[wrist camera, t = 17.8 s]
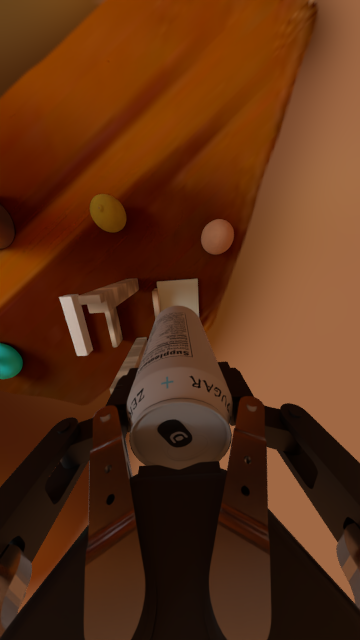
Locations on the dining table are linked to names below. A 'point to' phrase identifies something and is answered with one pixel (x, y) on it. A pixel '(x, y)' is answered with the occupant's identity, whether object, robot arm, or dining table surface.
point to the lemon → (108, 213)
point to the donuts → (9, 361)
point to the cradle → (107, 303)
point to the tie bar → (76, 324)
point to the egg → (217, 236)
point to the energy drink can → (179, 396)
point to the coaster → (179, 294)
